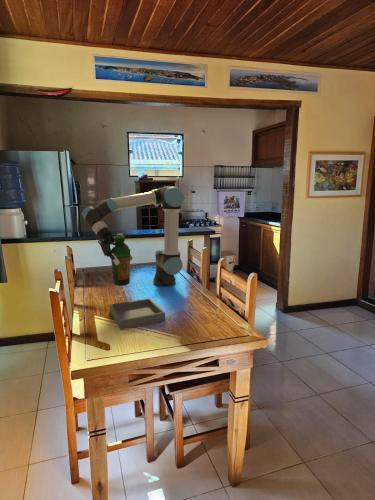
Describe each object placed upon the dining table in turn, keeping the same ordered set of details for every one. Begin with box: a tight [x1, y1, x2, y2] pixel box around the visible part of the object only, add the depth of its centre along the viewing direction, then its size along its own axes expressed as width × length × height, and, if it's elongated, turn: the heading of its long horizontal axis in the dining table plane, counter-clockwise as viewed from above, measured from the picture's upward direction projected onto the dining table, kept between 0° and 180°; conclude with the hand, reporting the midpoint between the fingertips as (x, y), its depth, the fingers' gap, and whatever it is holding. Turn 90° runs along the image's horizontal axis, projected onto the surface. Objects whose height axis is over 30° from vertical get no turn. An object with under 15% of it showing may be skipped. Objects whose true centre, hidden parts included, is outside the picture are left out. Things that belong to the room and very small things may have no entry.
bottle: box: [110, 233, 131, 287], centre depth 174 cm, size 11×11×28 cm
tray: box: [108, 297, 166, 331], centre depth 162 cm, size 22×22×4 cm
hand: (125, 261), depth 172 cm, fingers closed on bottle, 10 cm apart
